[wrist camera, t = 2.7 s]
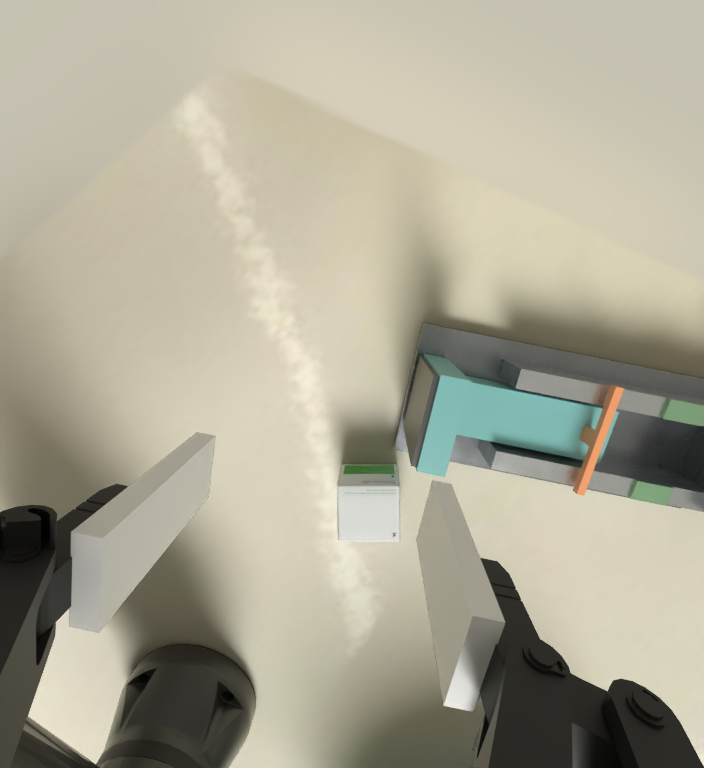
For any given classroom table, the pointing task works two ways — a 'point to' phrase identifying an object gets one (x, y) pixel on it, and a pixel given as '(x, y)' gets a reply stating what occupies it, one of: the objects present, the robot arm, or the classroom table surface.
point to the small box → (368, 502)
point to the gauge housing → (591, 385)
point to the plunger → (500, 419)
